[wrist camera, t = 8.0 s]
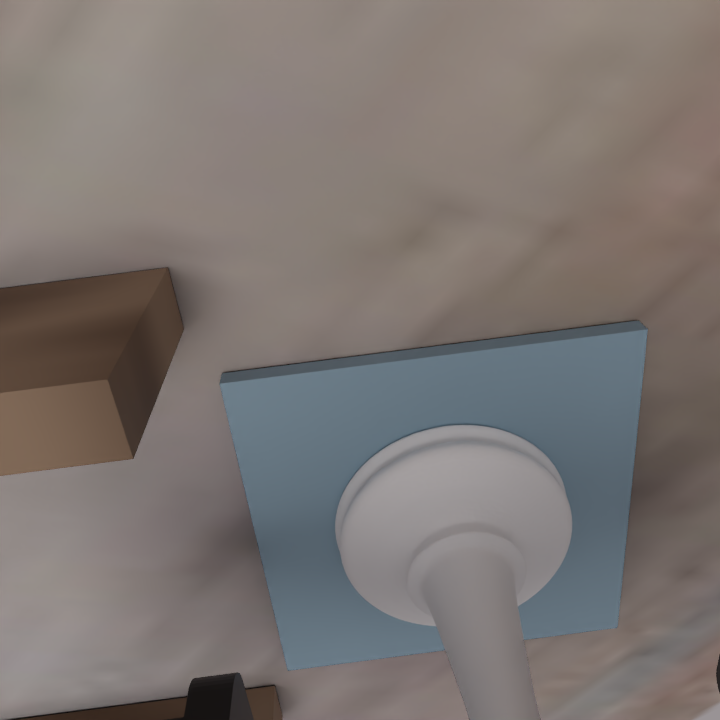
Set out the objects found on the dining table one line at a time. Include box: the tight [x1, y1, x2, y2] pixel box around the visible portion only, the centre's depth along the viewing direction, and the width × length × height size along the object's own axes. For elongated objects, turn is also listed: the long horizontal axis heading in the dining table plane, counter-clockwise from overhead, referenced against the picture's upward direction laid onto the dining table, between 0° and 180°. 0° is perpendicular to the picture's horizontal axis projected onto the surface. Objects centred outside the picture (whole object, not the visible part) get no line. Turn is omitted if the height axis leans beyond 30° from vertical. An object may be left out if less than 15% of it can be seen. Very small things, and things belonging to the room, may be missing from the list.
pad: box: [220, 321, 648, 671], centre depth 15 cm, size 8×8×1 cm
